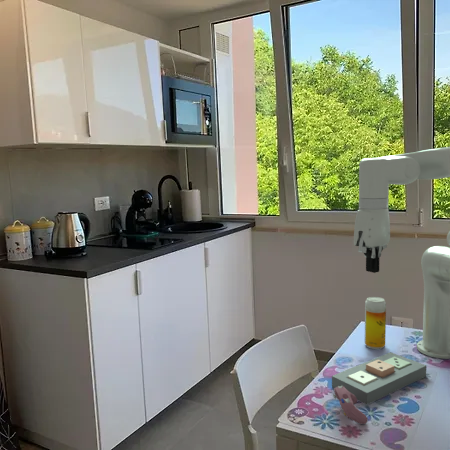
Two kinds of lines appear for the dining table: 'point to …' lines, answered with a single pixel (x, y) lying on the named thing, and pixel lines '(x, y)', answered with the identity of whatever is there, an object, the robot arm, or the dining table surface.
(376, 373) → the button two
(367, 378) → the button one
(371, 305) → the beer can
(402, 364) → the button three
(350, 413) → the video game controller
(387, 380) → the panel
